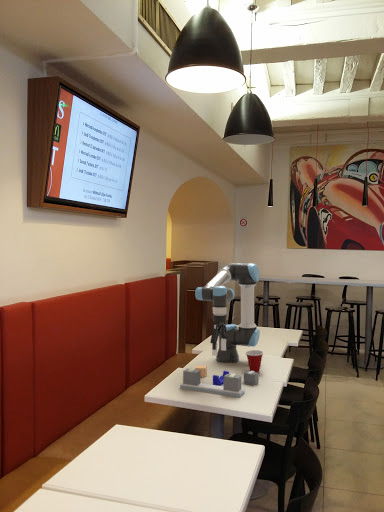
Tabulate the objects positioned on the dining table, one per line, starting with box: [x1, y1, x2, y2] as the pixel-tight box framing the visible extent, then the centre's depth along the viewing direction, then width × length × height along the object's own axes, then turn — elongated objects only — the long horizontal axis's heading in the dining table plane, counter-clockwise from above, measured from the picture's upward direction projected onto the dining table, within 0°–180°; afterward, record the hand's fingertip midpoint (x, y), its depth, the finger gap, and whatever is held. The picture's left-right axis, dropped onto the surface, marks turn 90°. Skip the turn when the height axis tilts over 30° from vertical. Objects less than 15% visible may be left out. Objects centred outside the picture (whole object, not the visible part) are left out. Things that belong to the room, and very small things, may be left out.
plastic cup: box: [245, 349, 264, 373], centre depth 276 cm, size 11×11×12 cm
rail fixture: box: [179, 367, 245, 398], centre depth 240 cm, size 6×34×10 cm, turn 66°
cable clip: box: [212, 370, 230, 386], centre depth 252 cm, size 12×4×6 cm, turn 143°
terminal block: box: [194, 365, 208, 378], centre depth 267 cm, size 5×6×5 cm
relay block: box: [243, 370, 260, 386], centre depth 253 cm, size 4×7×6 cm, turn 56°
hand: (219, 352), depth 252 cm, fingers open, 13 cm apart
